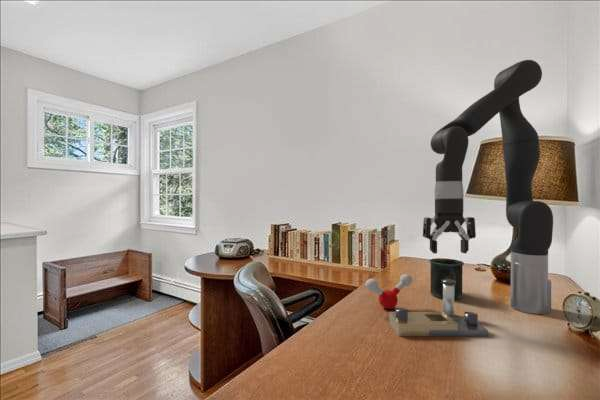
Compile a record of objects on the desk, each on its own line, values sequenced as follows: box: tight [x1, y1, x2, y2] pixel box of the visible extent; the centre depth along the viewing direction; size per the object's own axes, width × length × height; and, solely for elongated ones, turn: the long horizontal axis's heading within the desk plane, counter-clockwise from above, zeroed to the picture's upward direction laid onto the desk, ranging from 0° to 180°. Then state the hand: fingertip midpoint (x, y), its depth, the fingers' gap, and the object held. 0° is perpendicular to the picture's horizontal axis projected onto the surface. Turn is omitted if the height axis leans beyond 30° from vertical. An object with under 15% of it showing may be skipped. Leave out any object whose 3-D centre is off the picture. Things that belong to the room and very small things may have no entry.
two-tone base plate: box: [388, 307, 489, 337], centre depth 80 cm, size 22×8×5 cm, turn 90°
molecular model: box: [365, 273, 413, 310], centre depth 95 cm, size 18×6×10 cm, turn 124°
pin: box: [442, 279, 456, 318], centre depth 90 cm, size 4×4×10 cm
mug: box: [429, 257, 465, 300], centre depth 109 cm, size 11×15×12 cm
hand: (448, 253), depth 90 cm, fingers open, 8 cm apart
